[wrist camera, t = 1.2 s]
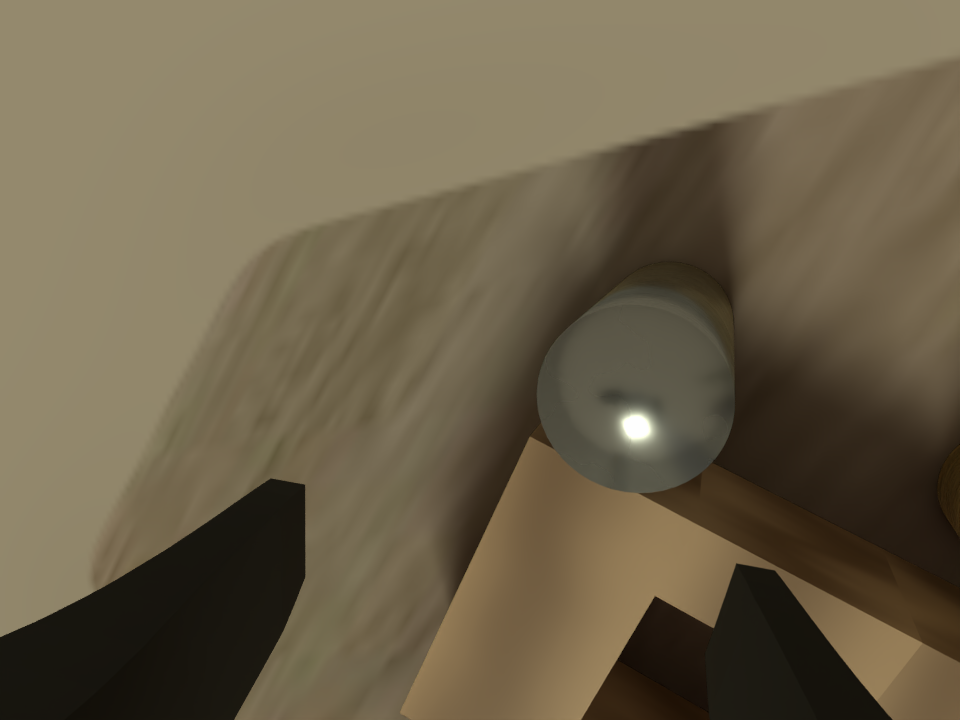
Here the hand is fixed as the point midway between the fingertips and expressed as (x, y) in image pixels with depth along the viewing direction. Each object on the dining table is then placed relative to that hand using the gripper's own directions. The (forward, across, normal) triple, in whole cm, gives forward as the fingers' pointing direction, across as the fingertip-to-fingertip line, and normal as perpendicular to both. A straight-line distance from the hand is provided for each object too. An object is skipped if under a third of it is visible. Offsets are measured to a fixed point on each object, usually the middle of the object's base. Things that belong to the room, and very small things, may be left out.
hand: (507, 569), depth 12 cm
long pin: (+13, -4, 0) cm, 13 cm away
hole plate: (+10, -7, +10) cm, 16 cm away
